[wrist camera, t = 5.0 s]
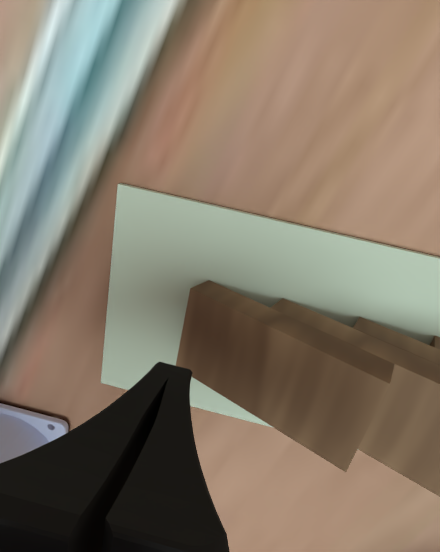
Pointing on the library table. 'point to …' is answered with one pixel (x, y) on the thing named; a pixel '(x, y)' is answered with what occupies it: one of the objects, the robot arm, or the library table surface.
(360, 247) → the mat
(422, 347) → the tile
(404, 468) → the tile
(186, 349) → the tile
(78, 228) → the library table surface
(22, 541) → the robot arm
